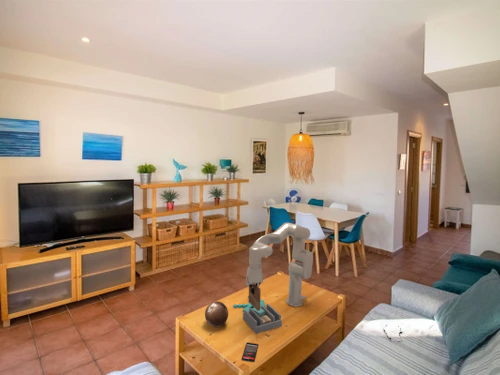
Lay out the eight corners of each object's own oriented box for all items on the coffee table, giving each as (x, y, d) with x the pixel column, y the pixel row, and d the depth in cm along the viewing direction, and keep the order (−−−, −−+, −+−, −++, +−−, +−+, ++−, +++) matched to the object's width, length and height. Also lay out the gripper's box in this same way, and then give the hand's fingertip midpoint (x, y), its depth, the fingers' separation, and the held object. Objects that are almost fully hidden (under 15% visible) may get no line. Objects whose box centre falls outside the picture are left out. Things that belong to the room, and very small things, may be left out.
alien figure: (233, 308, 208) (255, 318, 196) (233, 305, 208) (255, 315, 196) (249, 297, 224) (271, 306, 212) (249, 295, 224) (271, 303, 212)
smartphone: (241, 359, 155) (246, 342, 170) (241, 361, 155) (246, 343, 170) (254, 361, 154) (258, 344, 168) (254, 363, 154) (258, 345, 168)
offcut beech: (266, 322, 191) (266, 315, 191) (270, 327, 186) (271, 319, 185) (258, 324, 188) (258, 317, 188) (262, 329, 183) (263, 322, 183)
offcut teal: (258, 311, 197) (258, 307, 197) (264, 315, 193) (265, 311, 192) (253, 313, 194) (253, 309, 194) (259, 317, 189) (259, 313, 189)
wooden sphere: (200, 327, 183) (200, 305, 181) (213, 316, 196) (213, 295, 195) (220, 334, 176) (220, 311, 175) (232, 322, 190) (232, 300, 188)
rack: (266, 312, 203) (267, 302, 203) (281, 326, 187) (281, 316, 186) (242, 318, 194) (243, 308, 194) (256, 333, 178) (256, 323, 178)
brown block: (251, 301, 192) (251, 281, 191) (260, 309, 182) (260, 288, 180) (248, 301, 191) (248, 281, 190) (257, 310, 181) (257, 289, 179)
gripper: (262, 261, 190) (262, 287, 192) (241, 265, 183) (240, 292, 185) (268, 265, 184) (267, 292, 186) (246, 270, 176) (246, 298, 179)
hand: (254, 292), depth 185 cm, fingers closed on brown block, 2 cm apart
